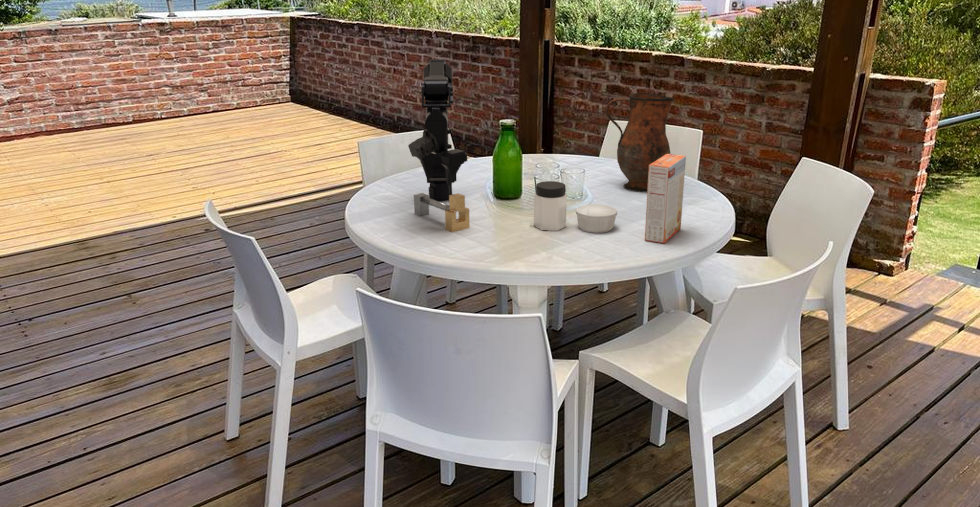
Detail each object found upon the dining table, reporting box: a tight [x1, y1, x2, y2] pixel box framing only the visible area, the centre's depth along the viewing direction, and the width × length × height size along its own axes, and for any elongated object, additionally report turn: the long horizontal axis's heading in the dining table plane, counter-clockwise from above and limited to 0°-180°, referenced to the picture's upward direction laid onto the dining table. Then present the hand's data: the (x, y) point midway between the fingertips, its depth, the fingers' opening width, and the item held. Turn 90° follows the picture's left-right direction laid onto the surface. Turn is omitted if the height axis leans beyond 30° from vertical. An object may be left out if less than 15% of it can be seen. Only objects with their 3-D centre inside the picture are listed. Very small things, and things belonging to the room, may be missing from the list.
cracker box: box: [644, 153, 687, 244], centre depth 207 cm, size 14×6×21 cm, turn 149°
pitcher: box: [605, 92, 675, 193], centre depth 250 cm, size 17×21×30 cm
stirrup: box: [444, 193, 470, 233], centre depth 213 cm, size 6×3×10 cm, turn 130°
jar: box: [533, 180, 568, 232], centre depth 216 cm, size 9×8×12 cm
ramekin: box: [575, 204, 618, 234], centre depth 216 cm, size 11×11×5 cm
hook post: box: [413, 192, 450, 218], centre depth 222 cm, size 4×15×6 cm, turn 40°
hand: (438, 182), depth 216 cm, fingers open, 9 cm apart
